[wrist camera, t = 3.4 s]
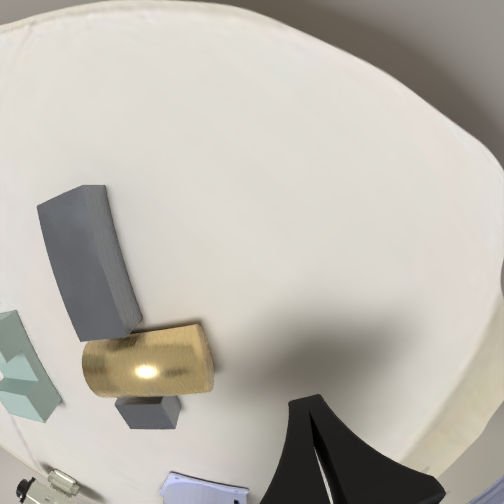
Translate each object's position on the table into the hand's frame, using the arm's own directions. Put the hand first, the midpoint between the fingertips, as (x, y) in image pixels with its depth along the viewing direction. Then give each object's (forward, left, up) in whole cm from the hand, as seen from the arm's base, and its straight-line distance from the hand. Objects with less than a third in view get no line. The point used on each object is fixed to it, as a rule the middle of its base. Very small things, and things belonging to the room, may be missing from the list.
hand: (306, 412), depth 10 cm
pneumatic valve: (+17, +42, -8) cm, 46 cm away
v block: (+21, +15, -8) cm, 27 cm away
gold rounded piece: (+8, +5, -6) cm, 11 cm away
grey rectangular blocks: (+11, +4, -8) cm, 14 cm away
